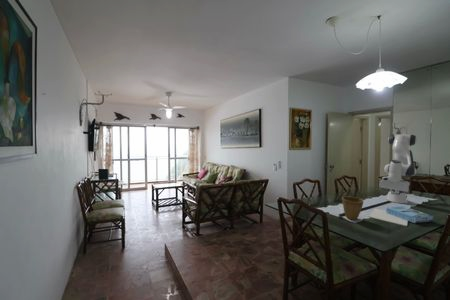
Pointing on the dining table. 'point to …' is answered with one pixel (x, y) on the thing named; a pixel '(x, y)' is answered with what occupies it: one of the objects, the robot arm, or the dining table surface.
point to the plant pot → (352, 207)
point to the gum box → (409, 214)
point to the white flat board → (387, 217)
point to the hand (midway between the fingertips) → (393, 194)
